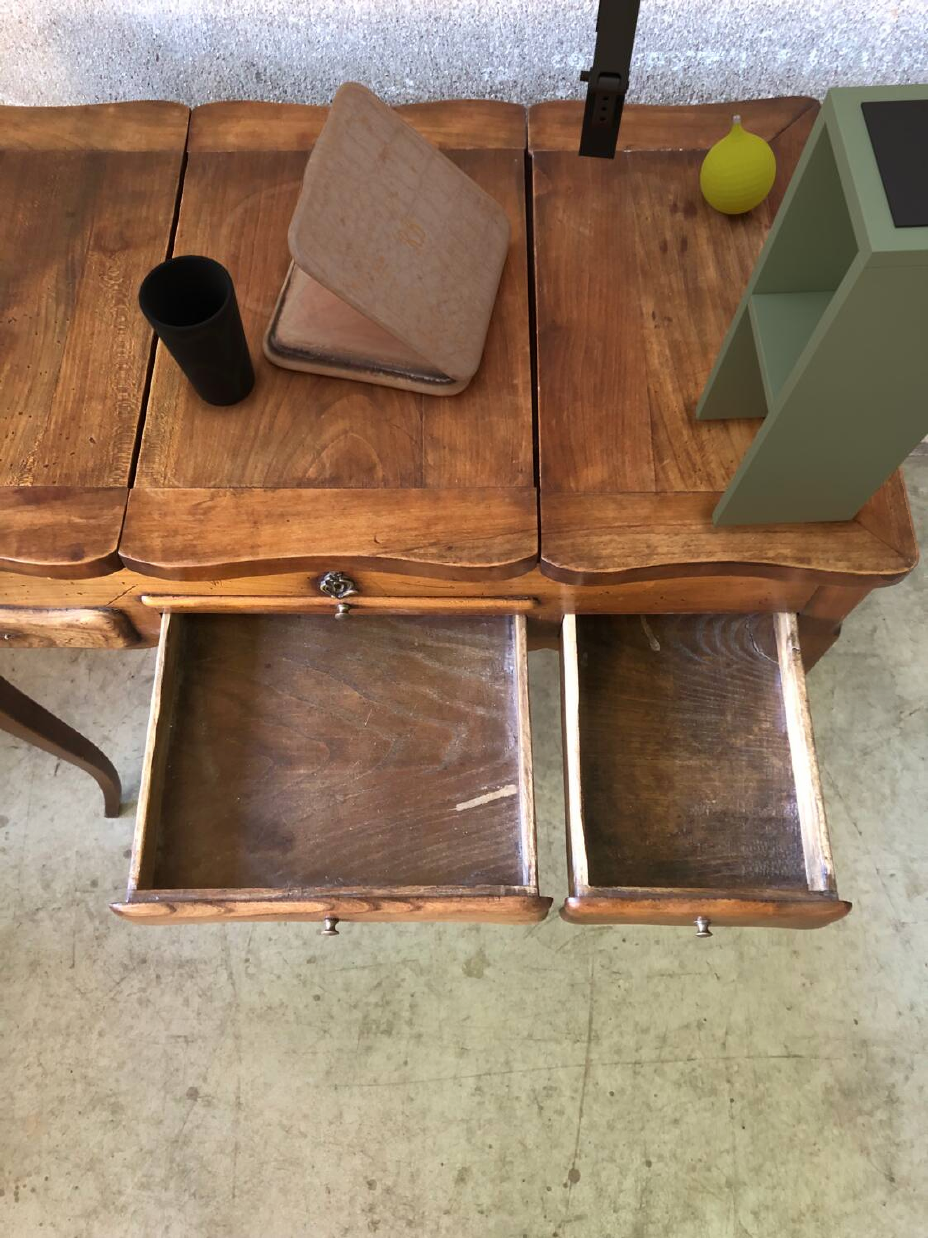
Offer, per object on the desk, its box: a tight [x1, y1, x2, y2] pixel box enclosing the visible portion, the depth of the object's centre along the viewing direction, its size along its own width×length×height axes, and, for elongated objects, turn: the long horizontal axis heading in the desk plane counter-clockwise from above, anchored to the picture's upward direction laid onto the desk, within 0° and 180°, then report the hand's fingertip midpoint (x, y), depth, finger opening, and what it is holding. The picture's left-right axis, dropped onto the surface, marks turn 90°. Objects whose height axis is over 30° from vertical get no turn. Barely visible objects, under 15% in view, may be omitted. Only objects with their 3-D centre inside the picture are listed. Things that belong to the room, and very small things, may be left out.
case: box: [261, 81, 512, 397], centre depth 77 cm, size 20×21×16 cm
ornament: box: [699, 103, 777, 215], centre depth 83 cm, size 7×7×10 cm
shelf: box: [694, 83, 928, 527], centre depth 62 cm, size 12×12×32 cm
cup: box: [137, 254, 256, 407], centre depth 75 cm, size 8×8×12 cm
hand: (604, 90), depth 68 cm, fingers open, 13 cm apart
